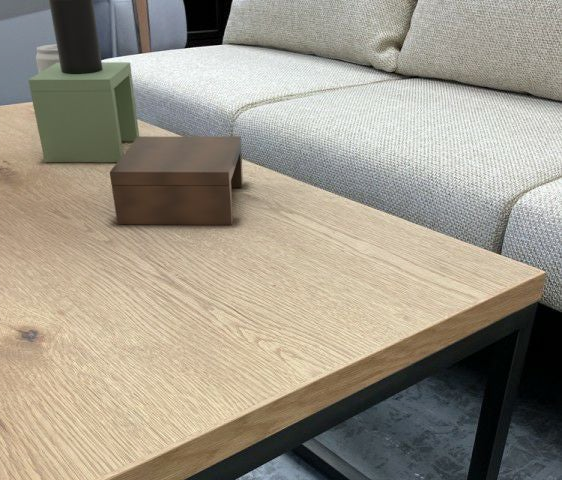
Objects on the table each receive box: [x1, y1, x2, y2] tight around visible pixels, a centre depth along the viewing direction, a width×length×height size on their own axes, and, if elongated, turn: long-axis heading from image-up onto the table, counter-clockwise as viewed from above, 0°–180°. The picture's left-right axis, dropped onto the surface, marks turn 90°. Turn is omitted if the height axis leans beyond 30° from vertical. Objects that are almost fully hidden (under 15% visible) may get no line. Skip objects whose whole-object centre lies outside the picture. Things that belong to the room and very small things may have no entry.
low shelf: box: [109, 136, 244, 226], centre depth 83 cm, size 13×14×6 cm
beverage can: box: [35, 43, 60, 74], centre depth 112 cm, size 6×6×12 cm
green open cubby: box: [28, 61, 140, 163], centre depth 101 cm, size 11×12×11 cm
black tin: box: [48, 0, 103, 74], centre depth 95 cm, size 6×6×9 cm
